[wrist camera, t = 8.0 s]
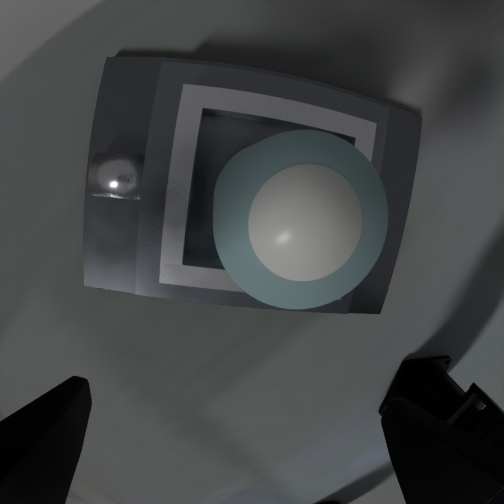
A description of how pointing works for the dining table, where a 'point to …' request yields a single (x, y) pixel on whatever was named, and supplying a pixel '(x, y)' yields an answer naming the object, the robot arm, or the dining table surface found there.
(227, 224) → the cylinder
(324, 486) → the dining table surface
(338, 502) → the supplement bottle
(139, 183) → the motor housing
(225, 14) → the dining table surface
